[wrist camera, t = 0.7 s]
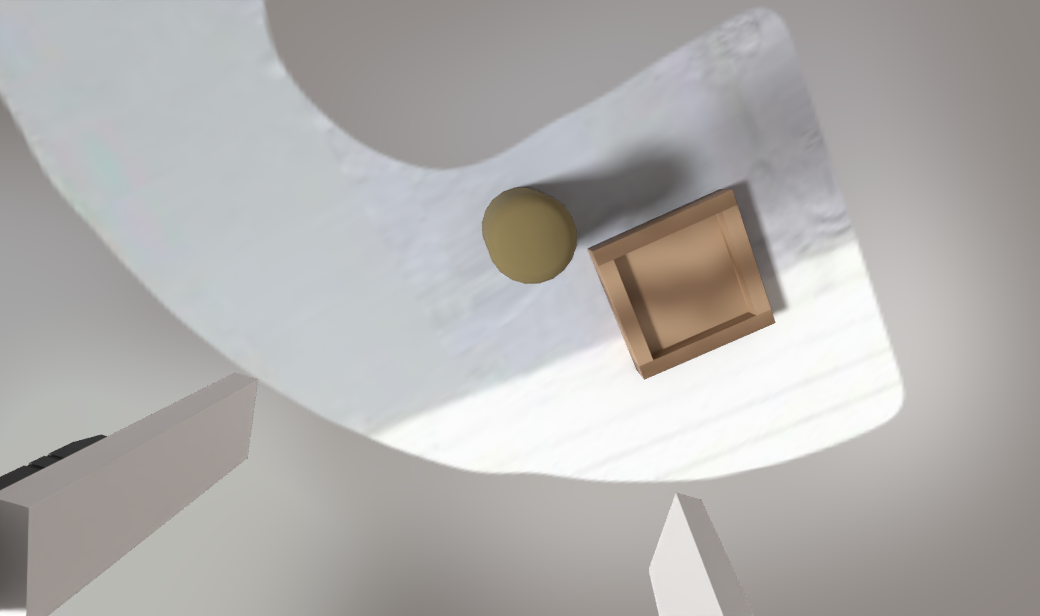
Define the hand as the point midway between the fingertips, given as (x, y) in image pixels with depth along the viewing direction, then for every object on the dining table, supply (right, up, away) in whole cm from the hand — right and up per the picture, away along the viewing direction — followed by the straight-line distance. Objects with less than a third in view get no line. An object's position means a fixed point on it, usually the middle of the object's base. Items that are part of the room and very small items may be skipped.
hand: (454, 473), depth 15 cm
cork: (+2, +11, +23) cm, 25 cm away
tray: (+14, +7, +24) cm, 29 cm away
